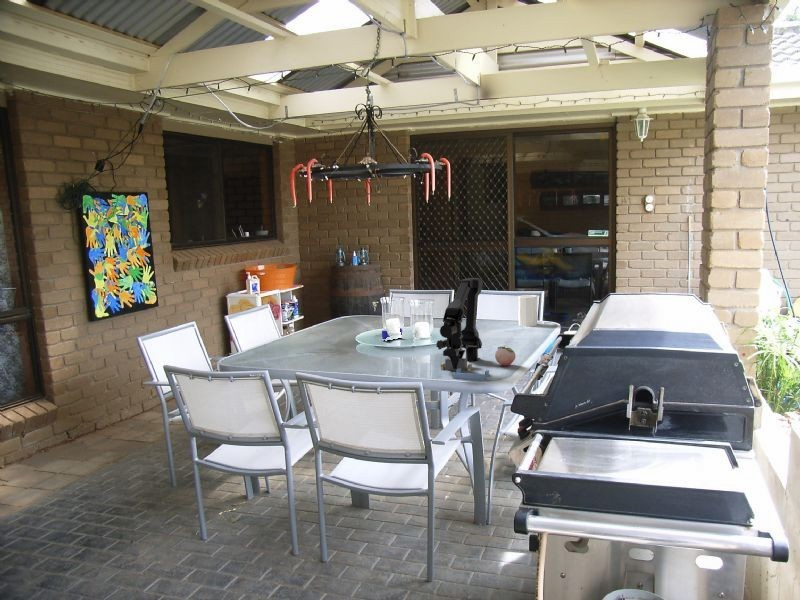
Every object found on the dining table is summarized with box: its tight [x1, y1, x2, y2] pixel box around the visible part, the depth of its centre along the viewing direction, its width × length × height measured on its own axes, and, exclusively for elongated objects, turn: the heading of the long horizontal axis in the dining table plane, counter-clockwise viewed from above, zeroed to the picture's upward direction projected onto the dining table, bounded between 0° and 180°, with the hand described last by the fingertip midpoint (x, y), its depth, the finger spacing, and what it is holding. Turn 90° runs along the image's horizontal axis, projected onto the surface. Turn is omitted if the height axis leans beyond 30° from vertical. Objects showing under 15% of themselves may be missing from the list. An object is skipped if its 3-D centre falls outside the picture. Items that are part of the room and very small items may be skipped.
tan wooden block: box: [440, 362, 473, 372], centre depth 281 cm, size 3×14×2 cm, turn 68°
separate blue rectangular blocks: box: [452, 368, 490, 381], centre depth 267 cm, size 8×14×2 cm, turn 68°
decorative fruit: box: [494, 346, 516, 367], centre depth 282 cm, size 9×8×10 cm
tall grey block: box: [444, 357, 468, 372], centre depth 281 cm, size 4×9×5 cm, turn 68°
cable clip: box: [381, 327, 403, 339], centre depth 356 cm, size 12×4×6 cm, turn 128°
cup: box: [517, 294, 538, 328], centre depth 378 cm, size 11×11×18 cm
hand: (456, 367), depth 281 cm, fingers closed on tall grey block, 4 cm apart
